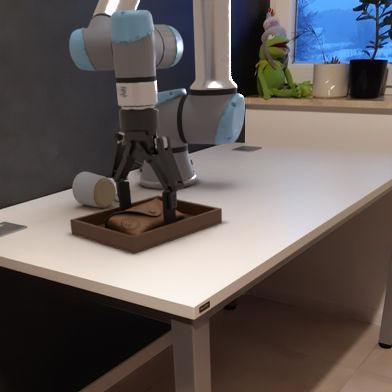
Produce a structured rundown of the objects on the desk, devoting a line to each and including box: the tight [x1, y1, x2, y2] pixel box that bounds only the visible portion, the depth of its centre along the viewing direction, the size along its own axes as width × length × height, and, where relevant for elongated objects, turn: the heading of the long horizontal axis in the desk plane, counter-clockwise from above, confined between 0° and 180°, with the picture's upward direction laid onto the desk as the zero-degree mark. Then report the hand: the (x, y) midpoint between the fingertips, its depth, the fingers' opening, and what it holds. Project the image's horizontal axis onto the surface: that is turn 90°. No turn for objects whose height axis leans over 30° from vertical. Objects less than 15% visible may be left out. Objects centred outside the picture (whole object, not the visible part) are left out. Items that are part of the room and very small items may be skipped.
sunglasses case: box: [105, 197, 186, 236], centre depth 112 cm, size 18×7×7 cm
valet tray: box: [69, 195, 223, 254], centre depth 112 cm, size 20×25×3 cm
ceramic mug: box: [71, 171, 119, 209], centre depth 129 cm, size 11×8×8 cm
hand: (147, 218), depth 112 cm, fingers open, 13 cm apart
